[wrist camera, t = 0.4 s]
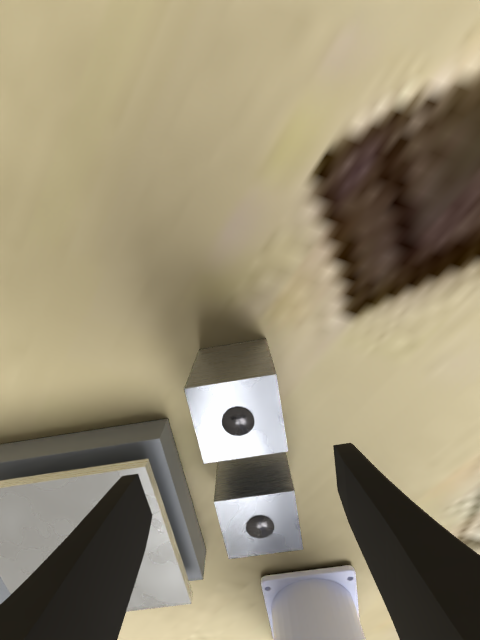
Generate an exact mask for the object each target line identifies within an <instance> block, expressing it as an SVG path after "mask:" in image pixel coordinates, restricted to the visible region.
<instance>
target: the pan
mask: <svg viewBox="0 0 480 640" xmlns="http://www.w3.org/2000/svg"><path fill="white" fill-rule="evenodd" d="M132 474H138V475H139V478H140V481H141V484H142V486H143V489H144V492H145V495H146V498H147V501H148V504H149V507H150V510H151V512H152V515H153V516H152V521H151V526H150V531H149V536H148V540H147V545H146V549H145V553H144V556H143V560H142V563H141V566H140V569H139V572H138V576H137V579H136V582H135V585H134V588H133V591H132V594H131V598H130V601H129V604H128V607H127V610H126V612H127V611H135V610H143V609H151V608H160V607H168V606H176V605H184V604H191V603H192V595H193V592H192V589H191V586H190V583H189V580H188V577H187V574H186V570H185V567H184V564H183V561H182V558H181V555H180V552H179V549H178V546H177V543H176V540H175V537H174V534H173V531H172V528H171V525H170V522H169V519H168V516H167V513H166V510H165V507H164V504H163V501H162V498H161V495H160V492H159V489H158V486H157V483H156V480H155V477H154V473H153V470H152V467H151V464H150V461H149V459H143V460H136V461H129V462H123V463H116V464H109V465H102V466H96V467H89V468H82V469H75V470H69V471H62V472H55V473H48V474H42V475H35V476H28V477H21V478H15V479H8V480H1V481H0V577H1V579H2V580H3V582H4V584H5V585H6V587H7V589H8V590H9V592H10V593H11V594H12V593H13V592H14V591H15V590H16V589H17V588H18V587H19V586H20V585H21V584H22V583H23V582H24V581H25V580H26V579H27V578H28V577H29V576H30V575H31V574H32V573H33V572H34V571H35V570H36V569H37V568H38V567H39V566H40V565H41V564H42V563H43V562H44V561H45V560H46V559H47V558H48V557H49V556H50V554H51V553H52V552H53V551H54V550H55V549H56V548H57V547H58V546H59V545H60V544H61V543H62V542H63V541H64V540H65V539H66V538H67V537H68V536H69V534H70V533H71V532H72V531H73V530H74V529H75V528H76V527H77V526H78V524H79V523H80V522H81V521H82V520H83V519H84V518H85V517H86V516H87V514H88V513H89V512H90V511H91V510H92V509H93V508H94V507H95V506H96V504H97V503H98V502H99V501H100V500H101V499H102V498H103V496H104V495H105V494H106V493H107V492H108V491H109V490H110V489H111V487H112V486H113V485H114V484H115V483H116V482H117V481H118V480H119V479H120V478H121V477H122V476H125V475H132Z"/></svg>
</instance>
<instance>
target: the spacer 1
mask: <svg viewBox="0 0 480 640" xmlns="http://www.w3.org/2000/svg"><path fill="white" fill-rule="evenodd" d="M184 390H185V394H186V398H187V402H188V406H189V409H190V413H191V417H192V421H193V425H194V428H195V432H196V436H197V440H198V444H199V448H200V451H201V455H202V459H203V463H204V464H205V463H211V462H218V461H225V460H232V459H239V458H246V457H253V456H259V455H266V454H273V453H280V452H287V451H288V447H287V440H286V434H285V427H284V420H283V414H282V407H281V401H280V394H279V388H278V381H277V375H276V371H275V367H274V364H273V361H272V357H271V354H270V350H269V347H268V343H267V340H266V338H265V339H259V340H253V341H247V342H241V343H235V344H229V345H223V346H217V347H211V348H205V349H199V352H198V354H197V357H196V360H195V362H194V365H193V367H192V370H191V372H190V375H189V378H188V380H187V383H186V385H185V388H184Z"/></svg>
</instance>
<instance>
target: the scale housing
mask: <svg viewBox="0 0 480 640" xmlns="http://www.w3.org/2000/svg"><path fill="white" fill-rule="evenodd" d="M143 459H149V461H150V464H151V467H152V470H153V473H154V477H155V480H156V483H157V486H158V489H159V492H160V495H161V498H162V501H163V504H164V507H165V510H166V513H167V516H168V519H169V522H170V525H171V528H172V531H173V534H174V537H175V540H176V543H177V546H178V549H179V552H180V555H181V558H182V561H183V564H184V567H185V570H186V574H187V577H188V580H189V581H193V580H201V579H203V574H204V565H205V556H206V548H205V544H204V541H203V538H202V534H201V531H200V527H199V524H198V520H197V517H196V514H195V510H194V507H193V503H192V500H191V496H190V493H189V489H188V486H187V483H186V479H185V476H184V472H183V469H182V465H181V462H180V459H179V455H178V452H177V448H176V445H175V441H174V438H173V434H172V431H171V428H170V424H169V421H168V419H161V420H155V421H148V422H142V423H135V424H129V425H122V426H116V427H109V428H103V429H97V430H90V431H84V432H77V433H71V434H64V435H58V436H51V437H45V438H38V439H32V440H26V441H19V442H13V443H6V444H0V481H1V480H8V479H15V478H21V477H28V476H35V475H42V474H48V473H55V472H62V471H69V470H75V469H82V468H89V467H96V466H102V465H109V464H116V463H123V462H129V461H136V460H143ZM10 595H11V593H10V592H9V590H8V589H7V587H6V585H5V584H4V582H3V580H2V579H1V577H0V604H2V603H3V602H4V601H5V600H6V599H7V598H8V597H9V596H10Z"/></svg>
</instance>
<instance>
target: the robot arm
mask: <svg viewBox="0 0 480 640" xmlns="http://www.w3.org/2000/svg"><path fill="white" fill-rule="evenodd" d="M334 456H335V467H336V477H337V488H338V493H339V496H340V499H341V501H342V504H343V507H344V510H345V513H346V516H347V519H348V522H349V524H350V527H351V529H352V531H353V533H354V536H355V538H356V540H357V542H358V545H359V547H360V549H361V551H362V554H363V556H364V558H365V560H366V562H367V565H368V567H369V569H370V571H371V574H372V576H373V578H374V580H375V582H376V585H377V587H378V589H379V591H380V594H381V596H382V598H383V600H384V602H385V605H386V607H387V609H388V611H389V614H390V616H391V619H392V621H393V623H394V626H395V628H396V631H397V633H398V636H399V638H400V640H480V555H479V554H477V553H476V552H475V551H473V550H472V549H471V548H469V547H468V546H467V545H465V544H464V543H463V542H461V541H460V540H459V539H458V538H456V537H455V536H454V535H452V534H451V533H450V532H449V531H447V530H446V529H445V528H444V527H442V526H441V525H440V524H439V523H438V522H436V521H435V520H434V519H433V518H432V517H430V516H429V515H428V514H427V513H426V512H424V511H423V510H422V509H421V508H420V507H418V506H417V505H416V504H415V503H414V502H413V501H412V500H410V499H409V498H408V497H407V496H406V495H405V494H404V493H403V492H402V491H400V490H399V489H398V488H397V487H396V486H395V485H394V484H393V483H392V482H391V481H389V480H388V479H387V478H386V477H385V476H384V475H383V474H382V473H381V472H380V471H379V470H378V469H377V468H376V467H375V466H374V465H373V464H372V463H371V462H370V461H369V460H368V459H367V458H366V457H365V456H364V455H363V454H362V453H361V452H360V451H359V450H358V449H357V448H356V447H355V446H354V445H353V444H351V443H347V444H340V445H334ZM152 516H153V515H152V512H151V510H150V507H149V504H148V501H147V498H146V495H145V492H144V489H143V486H142V484H141V481H140V478H139V475H138V474H132V475H125V476H122V477H121V478H120V479H119V480H118V481H117V482H116V483H115V484H114V485H113V486H112V487H111V489H110V490H109V491H108V492H107V493H106V494H105V495H104V496H103V498H102V499H101V500H100V501H99V502H98V503H97V504H96V506H95V507H94V508H93V509H92V510H91V511H90V512H89V513H88V514H87V516H86V517H85V518H84V519H83V520H82V521H81V522H80V523H79V524H78V526H77V527H76V528H75V529H74V530H73V531H72V532H71V533H70V534H69V536H68V537H67V538H66V539H65V540H64V541H63V542H62V543H61V544H60V545H59V546H58V547H57V548H56V549H55V550H54V551H53V552H52V553H51V554H50V556H49V557H48V558H47V559H46V560H45V561H44V562H43V563H42V564H41V565H40V566H39V567H38V568H37V569H36V570H35V571H34V572H33V573H32V574H31V575H30V576H29V577H28V578H27V579H26V580H25V581H24V582H23V583H22V584H21V585H20V586H19V587H18V588H17V589H16V590H15V591H14V592H13V593H12V594H11V595H10V596H9V597H8V598H7V599H6V600H5V601H4V602H3V603H2V604H0V640H117V638H118V635H119V632H120V629H121V626H122V623H123V619H124V616H125V613H126V610H127V607H128V604H129V601H130V598H131V594H132V591H133V588H134V585H135V582H136V579H137V576H138V572H139V569H140V566H141V563H142V560H143V556H144V553H145V549H146V545H147V540H148V536H149V531H150V526H151V521H152ZM261 586H262V591H263V595H264V600H265V604H266V609H267V613H268V618H269V622H270V627H271V631H272V636H273V640H366V638H365V635H364V632H363V629H362V626H361V623H360V620H359V609H358V596H357V584H356V573H355V570H354V567H352V566H350V565H346V566H338V567H330V568H322V569H314V570H306V571H298V572H290V573H282V574H274V575H266V576H263V577H262V578H261Z"/></svg>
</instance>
